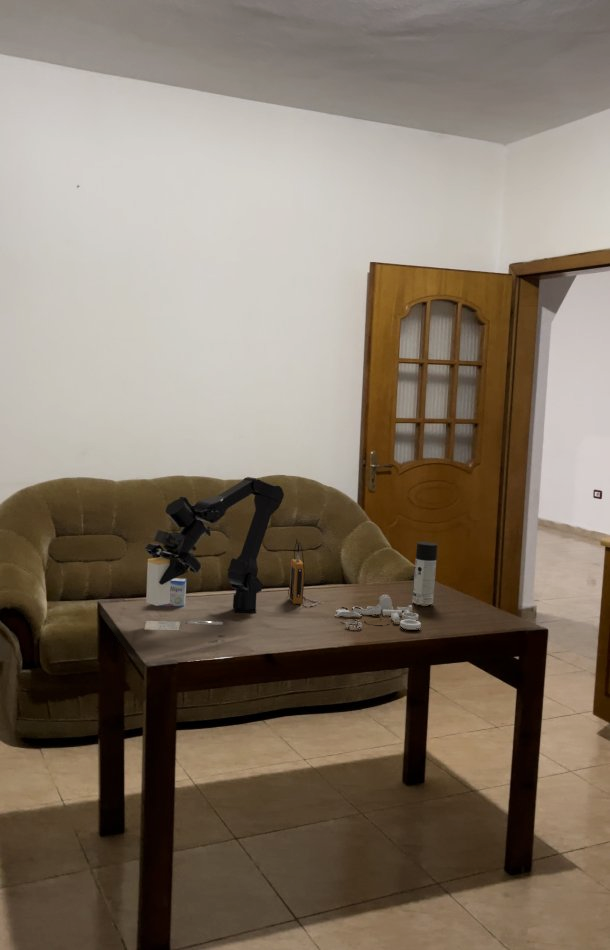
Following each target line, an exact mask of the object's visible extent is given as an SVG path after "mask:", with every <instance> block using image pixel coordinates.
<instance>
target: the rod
mask: <svg viewBox="0 0 610 950" xmlns="http://www.w3.org/2000/svg"><path fill="white" fill-rule="evenodd" d="M186 624H187V625H210V626H211V625H215V626H217V625H219V626H220V625H221V626H223V625H224V621H219V620H218V621H213V620H211V621H210V620H186Z"/></svg>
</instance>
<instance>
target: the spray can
mask: <svg viewBox="0 0 610 950" xmlns="http://www.w3.org/2000/svg"><path fill="white" fill-rule="evenodd" d="M437 556H438V543H435V542H431V541H430V542H428V541H418V542H417V543H416V551H415V562H414V564H415V565H414V575H413V587H412V590H413V591H412V602H411V603H413V602H414V603H417V604H432V603H433V604H434V595H435V594H434V593H435V581H436V571H437V570H436V569H437V558H438V557H437ZM433 604H432V605H433Z"/></svg>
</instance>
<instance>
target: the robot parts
mask: <svg viewBox="0 0 610 950" xmlns="http://www.w3.org/2000/svg"><path fill="white" fill-rule="evenodd" d="M378 601H379V603H378V604H377V605H375V606H367V607H366V608H363V607H361V606H358V607H359V608H361V609H359V608H355V607H356V606H353V607H352V608H353V610H352V611H350V609H349V610H346V609H345V608H339V609H338V610H337V609H336V610H335V614H334V617H335V616H344V617H350V616H362V615H360V614H376V615H382V613H383V615H385V614H386V615H388V614H389V615H390V614H391V617H390V619H391V618H392V620H393V621H394V622H400V625H399V627H400V626H401V627H403V628H407V629H416V628H420V627H421V628H422V623H421V622H420V621H419V614H418V613H416V612H413V604H412V605H411V604H409V605H408V606H406V607H404V606H403V607H402V606H397V607H396V609H394V607H393V601H392V599H391V597H390V596H389V594H382V595H380V597H379V600H378ZM371 608H372V609H371ZM397 609H398V610H397ZM381 610H382V611H381ZM353 611H354V612H353ZM402 611H404V612H402ZM410 611H412V612H410ZM336 612H337V614H336ZM399 615H402V617H399ZM402 619H403V620H402ZM416 620H418V621H416ZM345 623H346V625H345V624H344V626H346V627H349V628H352V629H354V628H356V629H357V628H359V627H362V628H363V623H362V622H361V621H360V622H357V621H354V624H357V623H358V625H359V626H357V627H356V626H355V625H348V624H352V620H348V621H346V622H345ZM359 629H360V628H359Z"/></svg>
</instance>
